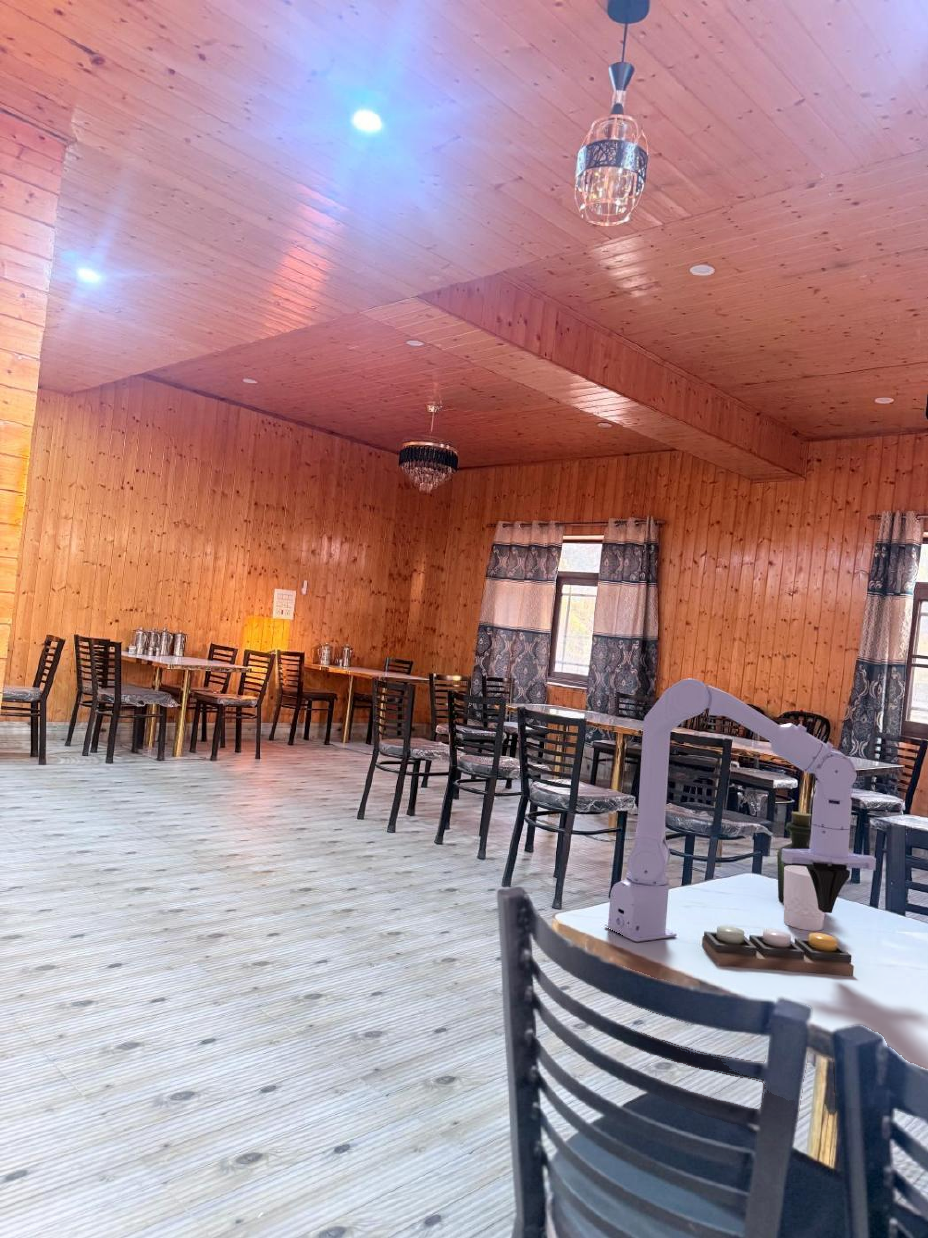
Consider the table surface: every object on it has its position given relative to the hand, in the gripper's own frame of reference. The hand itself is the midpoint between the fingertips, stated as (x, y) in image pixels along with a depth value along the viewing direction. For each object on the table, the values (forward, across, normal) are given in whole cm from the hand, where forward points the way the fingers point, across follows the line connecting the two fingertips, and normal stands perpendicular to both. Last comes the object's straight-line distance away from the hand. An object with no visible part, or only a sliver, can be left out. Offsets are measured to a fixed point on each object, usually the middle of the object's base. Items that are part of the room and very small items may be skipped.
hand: (824, 911), depth 138 cm
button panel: (+8, -8, 0) cm, 11 cm away
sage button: (+6, -15, 0) cm, 16 cm away
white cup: (+9, +6, +21) cm, 23 cm away
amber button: (+6, 0, 0) cm, 6 cm away
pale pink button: (+6, -8, 0) cm, 9 cm away
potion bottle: (+9, +11, +36) cm, 39 cm away
